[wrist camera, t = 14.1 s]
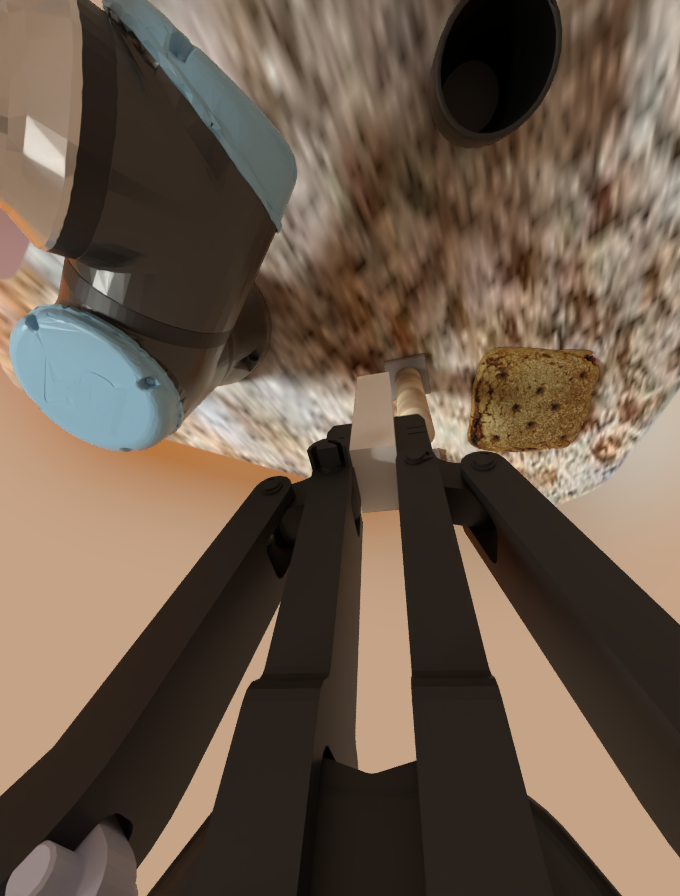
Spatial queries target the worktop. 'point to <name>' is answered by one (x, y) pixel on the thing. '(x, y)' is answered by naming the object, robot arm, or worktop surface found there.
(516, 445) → the pastry
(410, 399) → the post
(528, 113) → the mug
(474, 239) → the worktop surface
